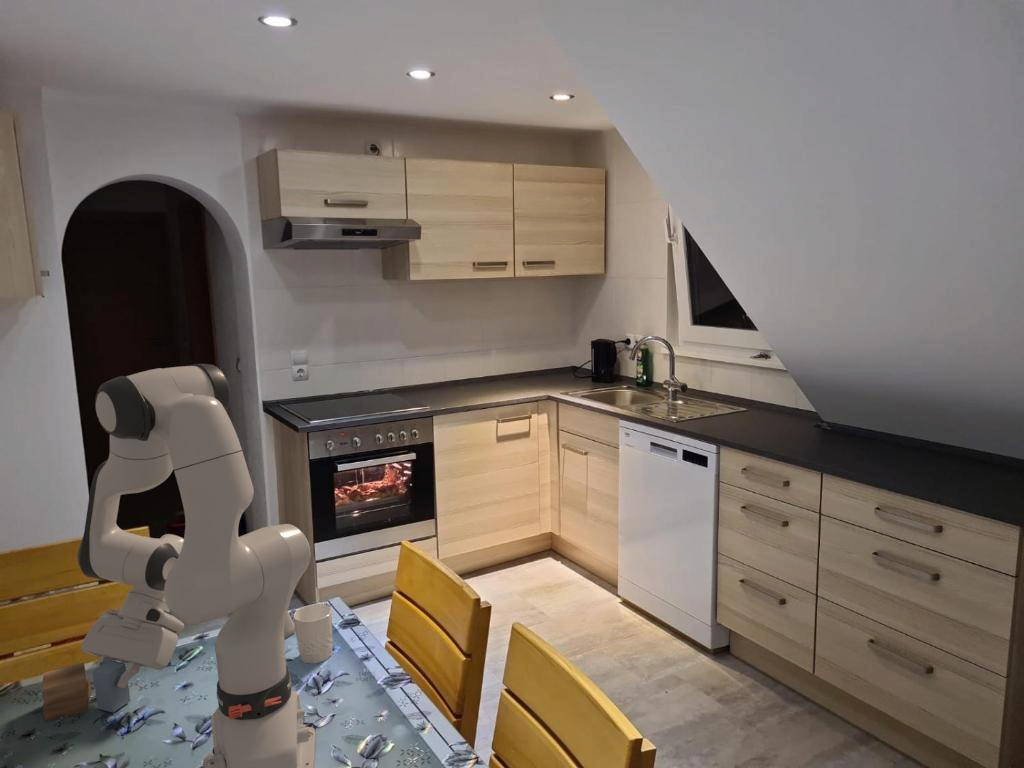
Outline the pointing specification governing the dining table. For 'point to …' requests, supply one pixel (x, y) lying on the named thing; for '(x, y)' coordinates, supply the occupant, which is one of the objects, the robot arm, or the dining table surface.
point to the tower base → (68, 706)
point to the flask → (289, 626)
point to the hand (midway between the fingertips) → (108, 684)
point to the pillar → (110, 686)
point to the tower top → (64, 684)
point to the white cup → (314, 632)
